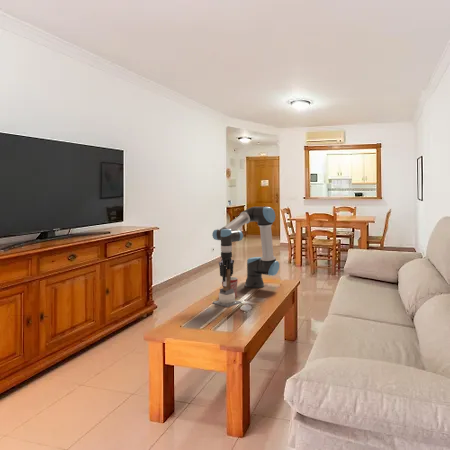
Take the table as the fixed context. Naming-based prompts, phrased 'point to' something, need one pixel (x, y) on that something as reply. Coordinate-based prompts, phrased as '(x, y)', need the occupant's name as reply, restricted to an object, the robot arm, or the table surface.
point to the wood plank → (227, 280)
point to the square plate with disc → (227, 298)
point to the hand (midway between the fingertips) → (226, 285)
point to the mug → (233, 284)
